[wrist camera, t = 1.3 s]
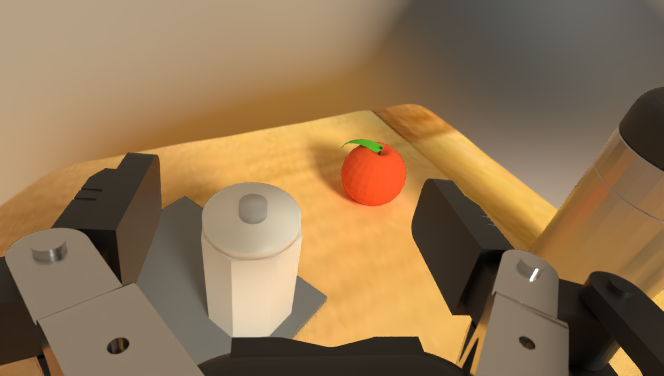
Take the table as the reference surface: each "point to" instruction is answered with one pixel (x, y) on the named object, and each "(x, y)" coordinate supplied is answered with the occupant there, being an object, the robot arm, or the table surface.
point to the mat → (200, 286)
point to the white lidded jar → (250, 257)
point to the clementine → (373, 173)
